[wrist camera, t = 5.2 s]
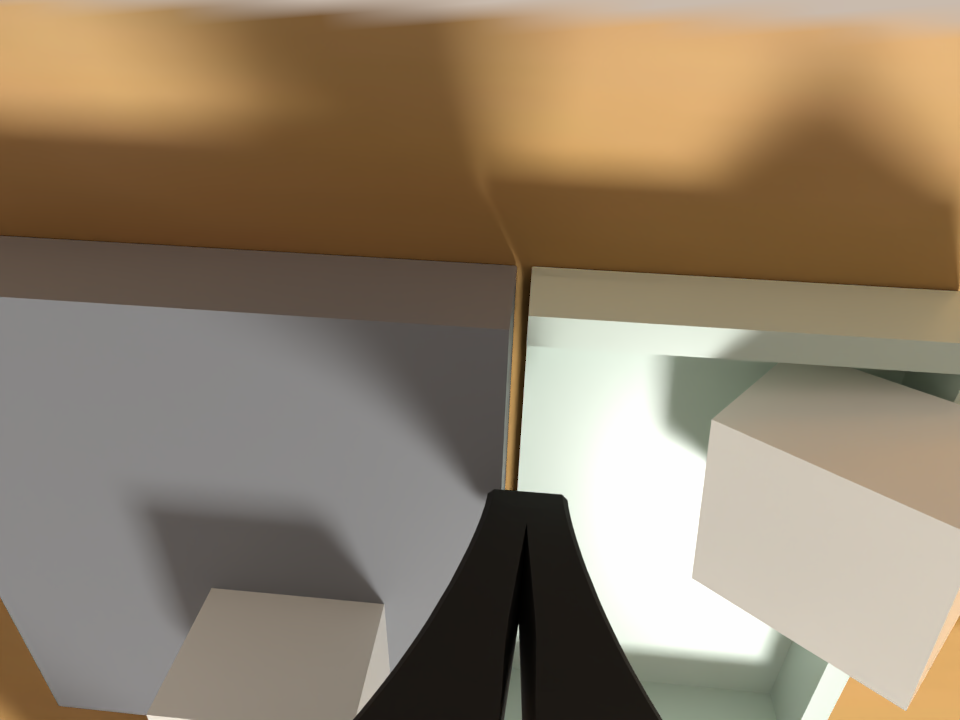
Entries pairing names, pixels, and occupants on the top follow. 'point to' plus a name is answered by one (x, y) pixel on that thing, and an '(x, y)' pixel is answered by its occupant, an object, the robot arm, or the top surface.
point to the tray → (693, 453)
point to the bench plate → (235, 441)
